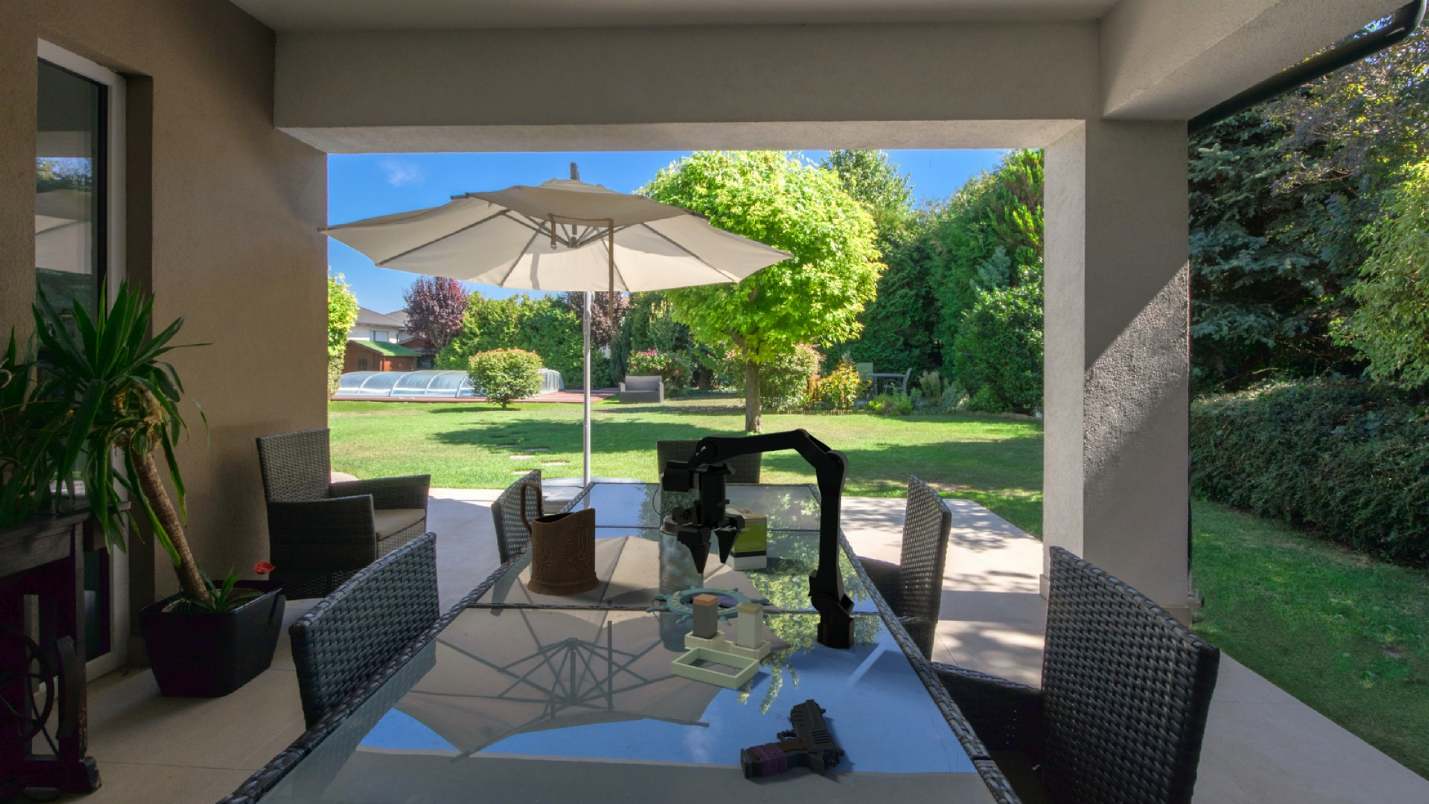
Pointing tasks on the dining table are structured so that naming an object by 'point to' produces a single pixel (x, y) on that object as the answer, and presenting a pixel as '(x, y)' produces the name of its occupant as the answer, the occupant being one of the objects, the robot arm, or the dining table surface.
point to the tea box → (749, 541)
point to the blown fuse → (705, 616)
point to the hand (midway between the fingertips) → (711, 568)
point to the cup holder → (560, 549)
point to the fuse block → (727, 646)
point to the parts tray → (712, 677)
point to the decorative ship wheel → (724, 596)
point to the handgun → (795, 746)
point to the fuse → (750, 625)
